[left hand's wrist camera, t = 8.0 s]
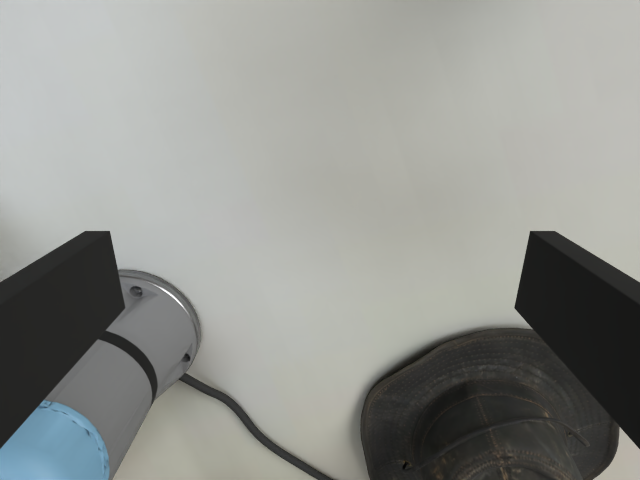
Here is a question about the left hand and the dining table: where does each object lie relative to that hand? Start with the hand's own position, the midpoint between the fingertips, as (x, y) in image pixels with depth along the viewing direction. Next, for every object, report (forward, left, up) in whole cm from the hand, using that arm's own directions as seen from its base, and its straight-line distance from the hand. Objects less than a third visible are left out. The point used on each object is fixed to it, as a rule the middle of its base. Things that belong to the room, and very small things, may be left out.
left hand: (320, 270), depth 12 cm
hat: (+38, +22, -28) cm, 52 cm away
